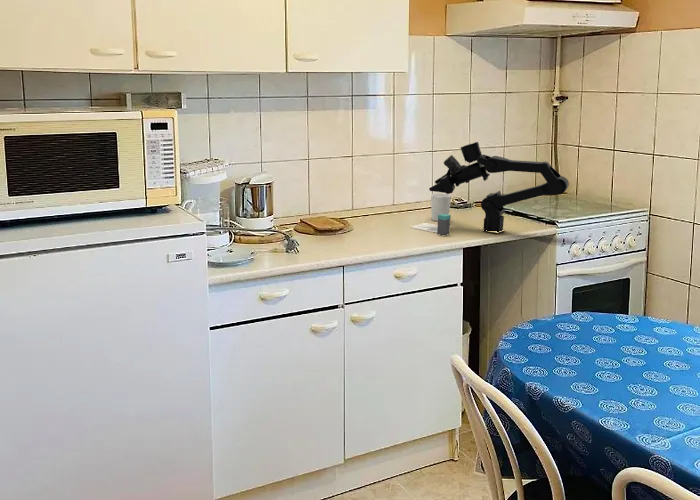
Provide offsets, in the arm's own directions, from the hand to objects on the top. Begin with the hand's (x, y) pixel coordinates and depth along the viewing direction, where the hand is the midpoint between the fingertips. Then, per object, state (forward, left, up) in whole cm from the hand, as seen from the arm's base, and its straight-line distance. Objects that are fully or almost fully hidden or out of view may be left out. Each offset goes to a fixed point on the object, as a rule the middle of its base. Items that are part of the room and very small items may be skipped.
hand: (432, 186), depth 296 cm
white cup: (+2, -10, -15) cm, 18 cm away
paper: (-4, +6, -15) cm, 17 cm away
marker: (-13, +11, -15) cm, 23 cm away
